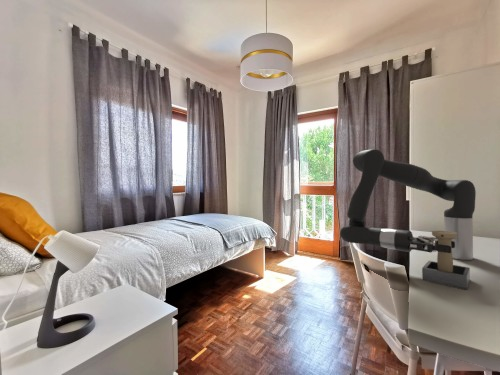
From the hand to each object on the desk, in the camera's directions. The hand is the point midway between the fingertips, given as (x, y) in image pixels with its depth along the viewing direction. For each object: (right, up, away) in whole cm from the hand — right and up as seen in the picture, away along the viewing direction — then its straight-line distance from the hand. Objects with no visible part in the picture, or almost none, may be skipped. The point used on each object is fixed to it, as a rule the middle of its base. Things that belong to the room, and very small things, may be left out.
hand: (453, 247), depth 76 cm
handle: (-1, -11, +2) cm, 11 cm away
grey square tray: (-1, -11, +1) cm, 11 cm away
